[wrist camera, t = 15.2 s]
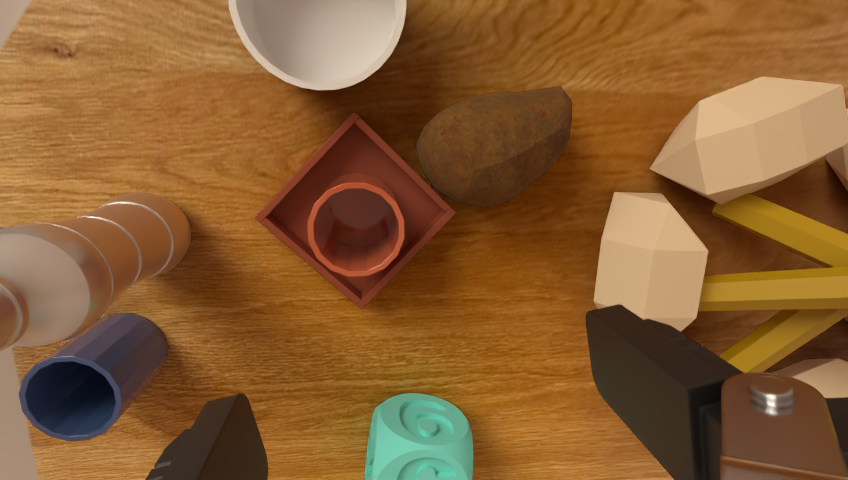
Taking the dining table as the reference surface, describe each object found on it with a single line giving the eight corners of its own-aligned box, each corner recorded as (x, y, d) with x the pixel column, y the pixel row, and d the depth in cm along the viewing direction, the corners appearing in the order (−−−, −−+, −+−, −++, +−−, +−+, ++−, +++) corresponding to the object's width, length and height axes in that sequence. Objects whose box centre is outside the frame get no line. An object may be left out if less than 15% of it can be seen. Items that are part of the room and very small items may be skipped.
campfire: (960, 107, 44) (1312, 92, 28) (859, 431, 52) (1091, 573, 35) (606, 68, 40) (776, 23, 23) (549, 430, 47) (648, 592, 30)
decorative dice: (363, 463, 45) (362, 532, 38) (376, 387, 44) (378, 442, 36) (445, 470, 47) (460, 537, 39) (460, 396, 45) (480, 451, 37)
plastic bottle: (114, 180, 37) (-156, 234, 18) (205, 198, 38) (40, 265, 19) (107, 259, 39) (-153, 387, 19) (195, 273, 40) (32, 409, 20)
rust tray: (261, 212, 39) (254, 217, 37) (354, 112, 38) (353, 111, 36) (362, 299, 42) (361, 309, 39) (451, 207, 41) (456, 212, 39)
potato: (555, 187, 42) (603, 202, 33) (420, 208, 41) (434, 228, 32) (548, 87, 40) (597, 75, 31) (406, 106, 39) (417, 99, 30)
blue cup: (70, 351, 40) (-2, 404, 32) (119, 297, 39) (59, 338, 32) (135, 396, 41) (82, 457, 34) (183, 345, 41) (140, 395, 33)
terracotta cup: (303, 212, 39) (287, 232, 31) (356, 155, 39) (353, 162, 31) (360, 263, 41) (359, 295, 33) (413, 209, 40) (424, 228, 32)
